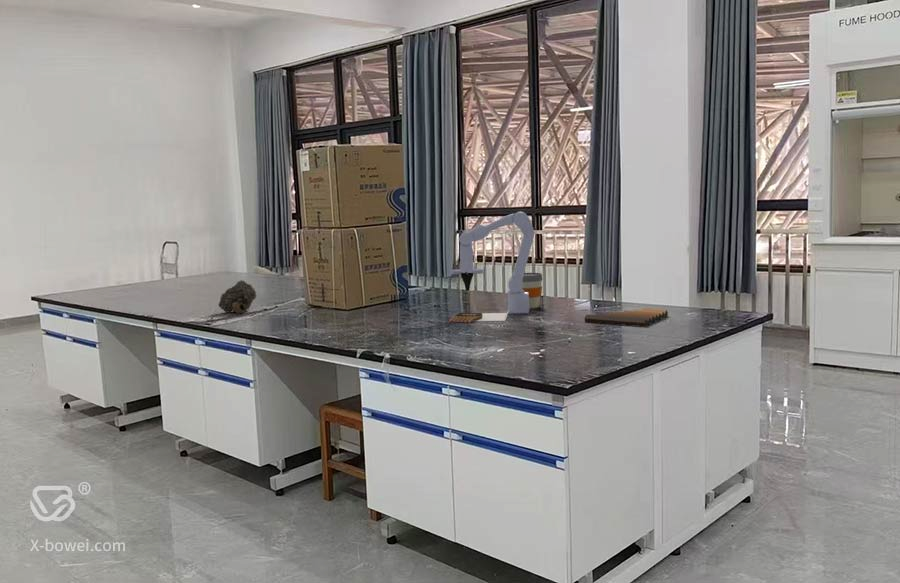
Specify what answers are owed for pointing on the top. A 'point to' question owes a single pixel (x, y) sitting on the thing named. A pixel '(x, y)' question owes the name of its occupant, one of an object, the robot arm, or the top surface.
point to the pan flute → (629, 317)
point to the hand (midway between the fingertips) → (467, 290)
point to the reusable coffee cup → (533, 288)
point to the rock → (238, 298)
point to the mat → (493, 317)
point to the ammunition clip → (466, 317)
